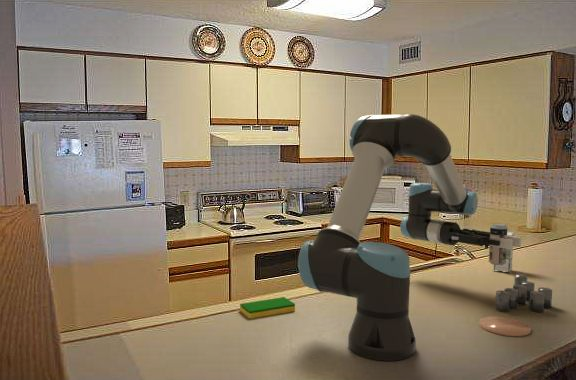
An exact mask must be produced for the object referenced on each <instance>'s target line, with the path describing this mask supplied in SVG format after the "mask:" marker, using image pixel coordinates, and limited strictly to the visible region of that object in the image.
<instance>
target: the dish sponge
mask: <svg viewBox="0 0 576 380" xmlns="http://www.w3.org/2000/svg"><path fill="white" fill-rule="evenodd" d="M239 310H240V313H242V314H243V315H245V316H246V318H248V319H254V318H255V319H256V318H262V317H267V316H273V315H279V314H284V313H290V312H295V311H296V303H294V302H293V301H292V300H289V299H288V298H286V297H284V296H282V297H275V298H270V299H263V300H257V301H251V302H250V301H249V302H244V303H240V304H239Z"/></svg>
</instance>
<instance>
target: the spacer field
mask: <svg viewBox="0 0 576 380" xmlns="http://www.w3.org/2000/svg"><path fill="white" fill-rule="evenodd" d="M513 282H514V283H513V285H512V287H511V288H510V287H507V288H504V290H496V291H495V294H496V295H495V311H498V312H501V313H508V312H510V310H517V309H518V306H525V305H527V304H526V303H527V302H529V309H528V310H529V311H530V312H533V313H541V314H543V313H544V311H545V310H544V309H551V308H552V302H553V288H552V289H551V288H549V287H538V288H537V289H538V290H535V285H536V284H535V282H533V281H528V275H527V274H524V273H523V274H522V273H516V274H514V281H513Z"/></svg>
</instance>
